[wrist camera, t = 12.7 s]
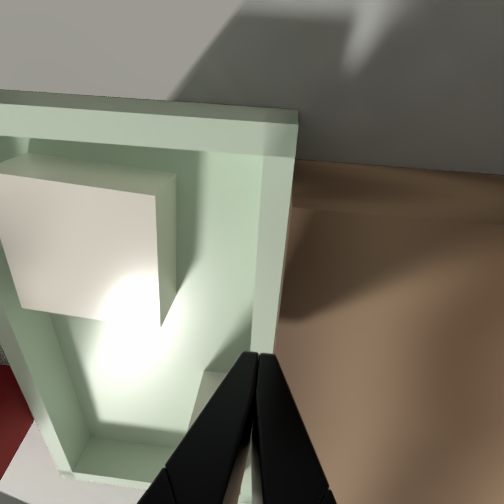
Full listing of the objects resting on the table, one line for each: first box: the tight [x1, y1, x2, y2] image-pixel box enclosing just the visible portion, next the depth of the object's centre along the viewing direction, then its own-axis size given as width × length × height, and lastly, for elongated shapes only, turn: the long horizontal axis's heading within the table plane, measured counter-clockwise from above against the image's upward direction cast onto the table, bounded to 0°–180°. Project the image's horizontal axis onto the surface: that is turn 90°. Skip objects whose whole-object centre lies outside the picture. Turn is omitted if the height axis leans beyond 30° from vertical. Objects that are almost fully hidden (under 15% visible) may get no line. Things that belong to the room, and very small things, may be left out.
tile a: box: [187, 371, 227, 431], centre depth 15 cm, size 5×5×2 cm
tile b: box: [0, 153, 177, 329], centre depth 12 cm, size 5×5×2 cm
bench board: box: [273, 159, 504, 504], centre depth 13 cm, size 12×16×4 cm
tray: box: [0, 89, 299, 504], centre depth 14 cm, size 11×19×2 cm, turn 177°
